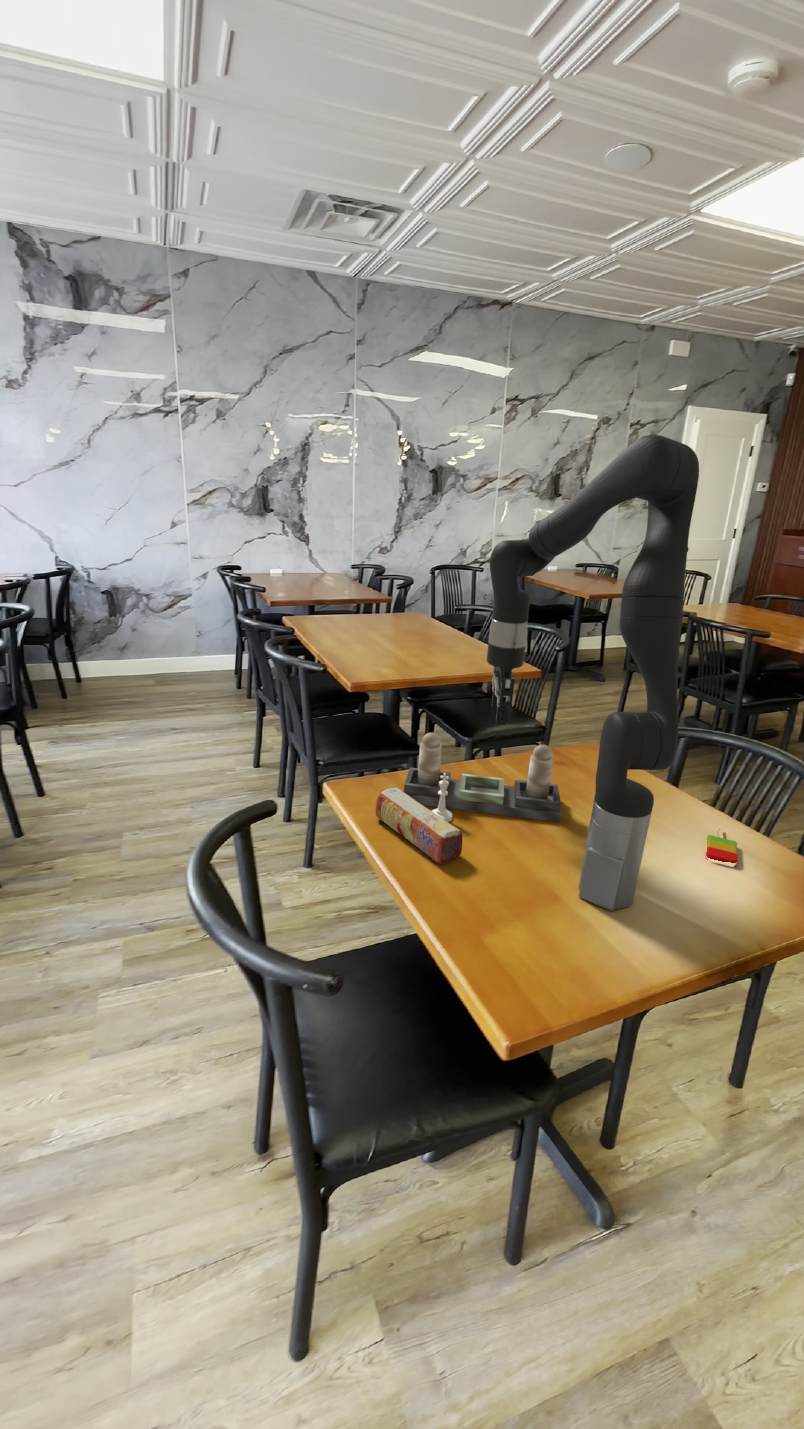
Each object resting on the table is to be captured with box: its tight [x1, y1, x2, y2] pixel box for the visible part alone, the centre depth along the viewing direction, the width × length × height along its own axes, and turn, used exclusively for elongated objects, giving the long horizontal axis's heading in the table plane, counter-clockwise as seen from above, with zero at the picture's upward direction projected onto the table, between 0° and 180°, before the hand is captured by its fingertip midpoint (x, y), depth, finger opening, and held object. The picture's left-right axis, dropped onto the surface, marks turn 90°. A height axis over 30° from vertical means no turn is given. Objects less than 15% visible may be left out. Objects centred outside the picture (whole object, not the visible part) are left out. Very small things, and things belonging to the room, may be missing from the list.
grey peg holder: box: [402, 732, 562, 823], centre depth 142 cm, size 34×11×15 cm, turn 82°
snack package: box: [375, 787, 464, 865], centre depth 127 cm, size 21×7×7 cm, turn 36°
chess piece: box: [431, 773, 454, 823], centre depth 135 cm, size 5×5×10 cm
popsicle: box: [705, 828, 739, 863], centre depth 131 cm, size 6×15×2 cm, turn 155°
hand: (498, 716), depth 137 cm, fingers open, 8 cm apart
